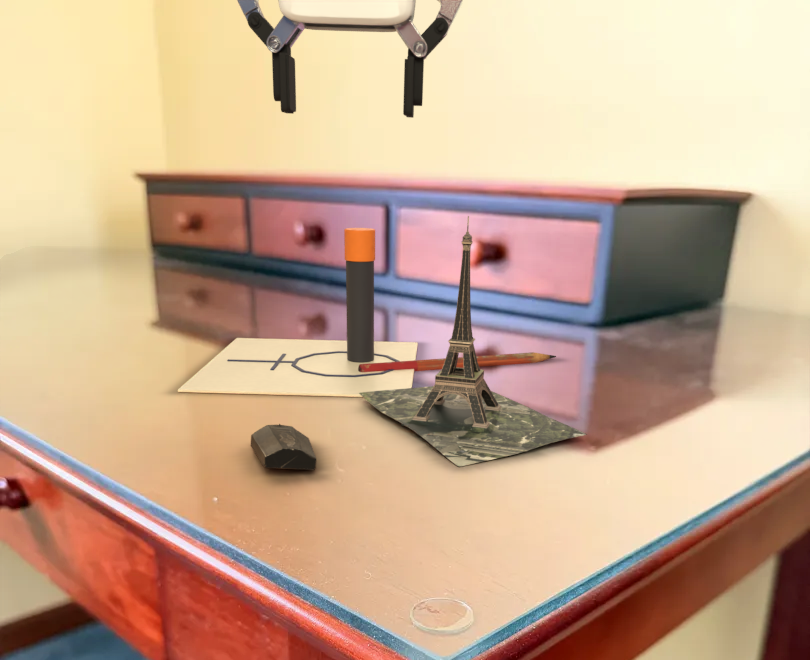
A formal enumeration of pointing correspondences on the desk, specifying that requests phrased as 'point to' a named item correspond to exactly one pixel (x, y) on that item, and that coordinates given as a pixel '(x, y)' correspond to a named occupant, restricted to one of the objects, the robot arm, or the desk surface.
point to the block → (283, 448)
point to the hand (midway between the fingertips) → (348, 114)
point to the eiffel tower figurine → (468, 401)
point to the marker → (360, 293)
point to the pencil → (438, 363)
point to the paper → (300, 368)
